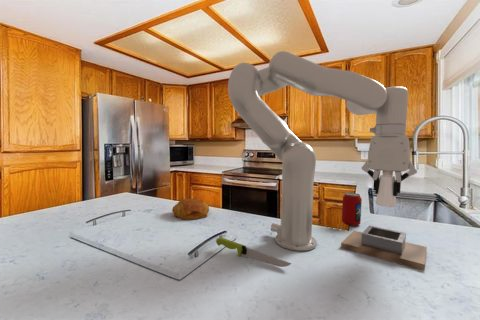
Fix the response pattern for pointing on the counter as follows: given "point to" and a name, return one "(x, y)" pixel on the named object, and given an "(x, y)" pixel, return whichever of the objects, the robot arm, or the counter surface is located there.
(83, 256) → the counter surface
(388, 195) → the salt shaker
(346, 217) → the beverage can
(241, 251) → the kitchen knife
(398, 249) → the metal socket
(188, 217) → the round bread loaf
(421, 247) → the walnut board
